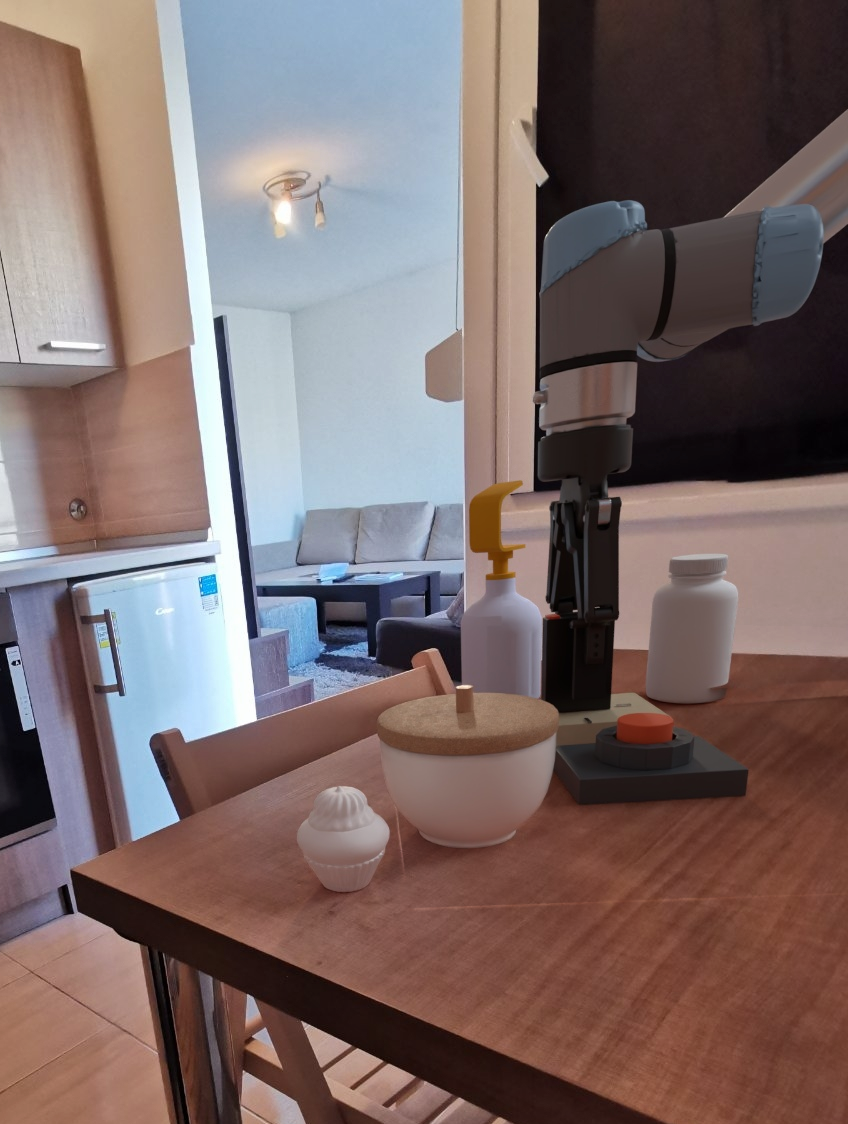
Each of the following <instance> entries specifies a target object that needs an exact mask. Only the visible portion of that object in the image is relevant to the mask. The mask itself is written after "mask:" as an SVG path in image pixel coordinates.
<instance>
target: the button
mask: <svg viewBox="0 0 848 1124" xmlns="http://www.w3.org/2000/svg"><path fill="white" fill-rule="evenodd" d="M667 715H668V714H667ZM667 715H663V714H657V713H633V714H627V715H623V716H621V717H619V718H618V720H617V738H616V739H617V740H620V741H623V742H627V743H638V744H653V743H664V742H668V741H672V734H673V727H674V723H675V721H674V718H673V717H672V716H670V715H669V716H667Z"/></svg>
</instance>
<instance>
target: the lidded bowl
mask: <svg viewBox="0 0 848 1124" xmlns="http://www.w3.org/2000/svg"><path fill="white" fill-rule="evenodd" d="M558 726H559V713H558V710H557V709H556V708H555V707H554V706H553V705H552V704H550V703H548V702H546V701H543V700H541V698H538V699H536V698H532V697H528V696H523V695H515V694H504V693H473V686H472V685H462V684H461V685H457V686H455V693H450V694H449V693H448V694H439V695H433V696H426V697H422V698H421V697H420V698H417V699H413V700H408V701H405V702H402V703H398V704H396V705H394V706H391V707H389V708H387V709H386V710H384V711H382V712H381V713H380V714H379V715H378V717H377V719H376V732H377V738H378V739H379V750H380V762H381V763H380V764H381V770H382V773H383V775H382V776H383V779H384V783H385V785H386V789H387V792H388V795H389V797H390V799H391V801H392V803H393V805H394V807H395V808H396V809H397V811H398V812H399V814H400V815H401V816H402V817H403V818H404V819H405V820H406V821H407V822H408V823H409V824H410V825H411V826H413V827H414V828H416V829H417V831H418V833H419V835H420V836H421V838H423V839H425V840H426V841H428V842H430V843H432V844H435V845H438V846H443V847H448V848H456V849H478V848H480V849H481V848H486V847H492V846H496V845H499V844H502V843H505V842H507V841H509V840H511V839H512V838H513V837H515V835H516V832H517V829H519V828H520V827H521V826H523V825H525V824H526V823H527V822H528V821H529V820H530V819H531V818H532V817H533V816H534V815H535V813H536V812H537V811H538V809H540V807H541V805H542V804H543V802H544V799H545V797H546V795H547V793H548V791H549V787H550V784H551V780H552V777H553V773H554V771H553V768H554V762H555V753H556V732H557V730H558Z"/></svg>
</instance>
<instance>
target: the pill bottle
mask: <svg viewBox="0 0 848 1124" xmlns="http://www.w3.org/2000/svg"><path fill="white" fill-rule="evenodd" d="M728 565H729V555H728V554H726V553H696V554H684V555H678V556H673V557H671V558H670V559H669V564H668V573H670V574H668V578H669V579H670V582H667V583H665V584H663V585H660V586H659V587H658V588H657V590H655V592H654V595H653V598H652V604H651V614H650V615H651V617H650V627H649V640H648V650H647V651H648V652H647V666H646V675H645V676H646V677H645V695H646V697H648V698H650V699H651V700H655V701H658V702H663V703H670V704H685V705H687V704H705V703H711V702H716V701H719V700H722V699H723V698H724V697H725V696H726V694H727V691H728V688H727V687H724V688H718V687H721V686H724V685H727V684H728V683H729V679H730V672H731V671H730V670H731V661H732V654H733V646H734V637H735V629H736V620H737V612H738V605H739V604H738V603H739V590H738V588H737V586H736V585H735V584H734V583H732V582H730V581H728V580H725V579H724V576H727V571H726V570H728Z"/></svg>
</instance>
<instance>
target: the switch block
mask: <svg viewBox="0 0 848 1124" xmlns="http://www.w3.org/2000/svg"><path fill="white" fill-rule="evenodd" d="M616 738H617V726H613V727H609V728H605V729H602V730H601V731H600V732H599V733H598V734H597V735H596V743H589V744H574V745H559V746H556V753H555V762H554V768H553V773H555V775H556V777H558V779H559V780H560V781H561V783H562V784H563V786H564V787H565V788H566V790H567V791H568V792H569V794H570V795H571V797H573V799H574V800H575V802H576V803H577V805H579V806H585V805H587V806H588V805H603V804H604V805H606V804H623V803H640V802H641V803H642V802H657V801H677V800H696V799H713V798H730V797H732V798H733V797H746V795H747V787H748V778H749V771H750V770H749V768H748V767H746V766H745V765H744V764H742V763H740V762H739V761H737V760H736V759H734V758H733V757H731V756H730V755H728V754H727V753H725V752H724V751H722V750H720V749H719V748H717V747H716V746H715V745H713V744H712V743H710V742H709V741H707V740H706V739H704V738H703V737H701V736H700V735H695V734H693V733H692V732H691V731H689V730H687V729H685V728H682V727H677V726H673V734H672V741H668V742H664V743H653V744H638V743H627V742H623V741H620V740H617V739H616Z"/></svg>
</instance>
